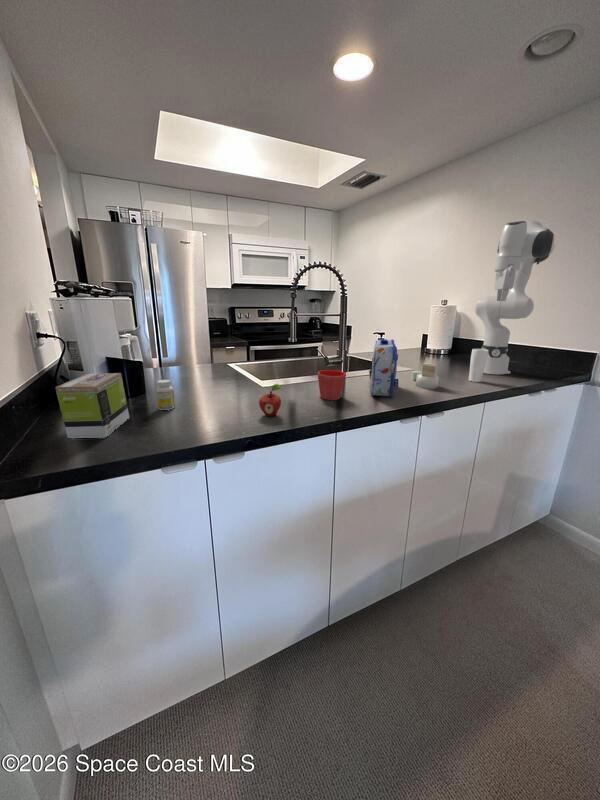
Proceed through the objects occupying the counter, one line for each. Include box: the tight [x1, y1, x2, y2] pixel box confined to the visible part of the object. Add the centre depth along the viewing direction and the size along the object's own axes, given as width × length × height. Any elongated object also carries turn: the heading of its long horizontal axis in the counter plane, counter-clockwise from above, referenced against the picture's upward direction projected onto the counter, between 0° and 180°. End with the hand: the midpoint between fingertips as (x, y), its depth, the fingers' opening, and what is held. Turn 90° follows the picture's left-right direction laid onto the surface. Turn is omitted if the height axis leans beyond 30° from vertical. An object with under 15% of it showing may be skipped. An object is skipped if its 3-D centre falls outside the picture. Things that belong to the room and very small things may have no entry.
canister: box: [415, 373, 440, 390], centre depth 140 cm, size 9×9×5 cm
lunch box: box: [369, 338, 399, 398], centre depth 128 cm, size 28×10×22 cm, turn 168°
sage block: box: [410, 370, 422, 381], centre depth 151 cm, size 4×4×4 cm
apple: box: [258, 383, 282, 417], centre depth 101 cm, size 8×7×10 cm
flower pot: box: [317, 369, 347, 401], centre depth 121 cm, size 11×11×10 cm
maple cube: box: [421, 362, 437, 377], centre depth 138 cm, size 5×5×5 cm
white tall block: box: [468, 348, 489, 383], centre depth 148 cm, size 7×7×15 cm
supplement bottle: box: [155, 379, 176, 411], centre depth 106 cm, size 5×5×10 cm
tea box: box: [54, 372, 130, 439], centre depth 88 cm, size 15×10×15 cm, turn 5°
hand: (500, 301), depth 134 cm, fingers open, 8 cm apart
